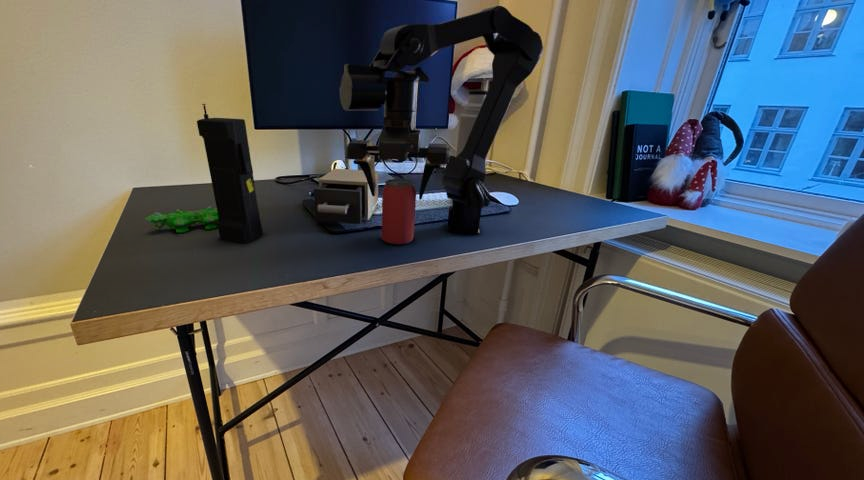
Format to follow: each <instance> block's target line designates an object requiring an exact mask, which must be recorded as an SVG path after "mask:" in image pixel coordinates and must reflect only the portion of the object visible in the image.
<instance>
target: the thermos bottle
mask: <svg viewBox="0 0 864 480" xmlns="http://www.w3.org/2000/svg"><path fill="white" fill-rule="evenodd" d="M487 92H488V90H482V89H481V90H480V89H479V90H478V89H477V90H469V91H468V94H469V96H468V99H467V100H468V101H467V103H466V104H465V105H463V113H462V114H460V116H459V125H458V135H457V143H456V154H455V157H457V156H458V155H459V154H460V153H461V152H462V151H463V149H464V147H465V144H466V142H467V140H468V137H469V135H470V132H471V130H472V128H473V125H474V123H475V121H476V118H477V116H478V114H479V111H480V109H481V106H482V104H483V102H484V99H485V97H486V95H487ZM487 161H488V155H487V156H486V159H485V163H486V164H487Z"/></svg>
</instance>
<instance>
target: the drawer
mask: <svg viewBox="0 0 864 480" xmlns="http://www.w3.org/2000/svg"><path fill="white" fill-rule="evenodd" d="M313 199H314V200H313V201H314V213H315V214H314V215H315V221H316V222H328V223H330V222H331V223H342V224H353V225H354V224H355V225H361V224H362V223H363V220H362V215H363V214H364V213H365V185H349V184H333V183H326V184H324V185H323V186H321V188H319V187H314V188H313Z"/></svg>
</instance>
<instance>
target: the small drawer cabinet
mask: <svg viewBox="0 0 864 480" xmlns="http://www.w3.org/2000/svg"><path fill="white" fill-rule="evenodd" d="M375 181H376V191H375V196H372V194H371V191H370V188H369V185H368V182H367V179H366V176H365V174H364V172H363V170H362V169H349V168H348V169H347V168H333V169H332V170H330V171H329V172H328V173H326V174H325V175H323V176H321V177H320V178H318V188H321V186H323V185H324V184H326V183H333V184H349V185H365V213H364V214H363V215H362V221H366V222H367V221H369V220H370V219H371V217H372V216H373V214H374V212H375V211H376V210H377V208H378V207H379V170H375ZM377 201H378V203H377ZM376 203H377V204H376ZM375 204H376V206H375ZM374 206H375V207H374ZM373 207H374V209H373ZM372 209H373V210H372ZM371 211H372V212H371Z"/></svg>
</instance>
